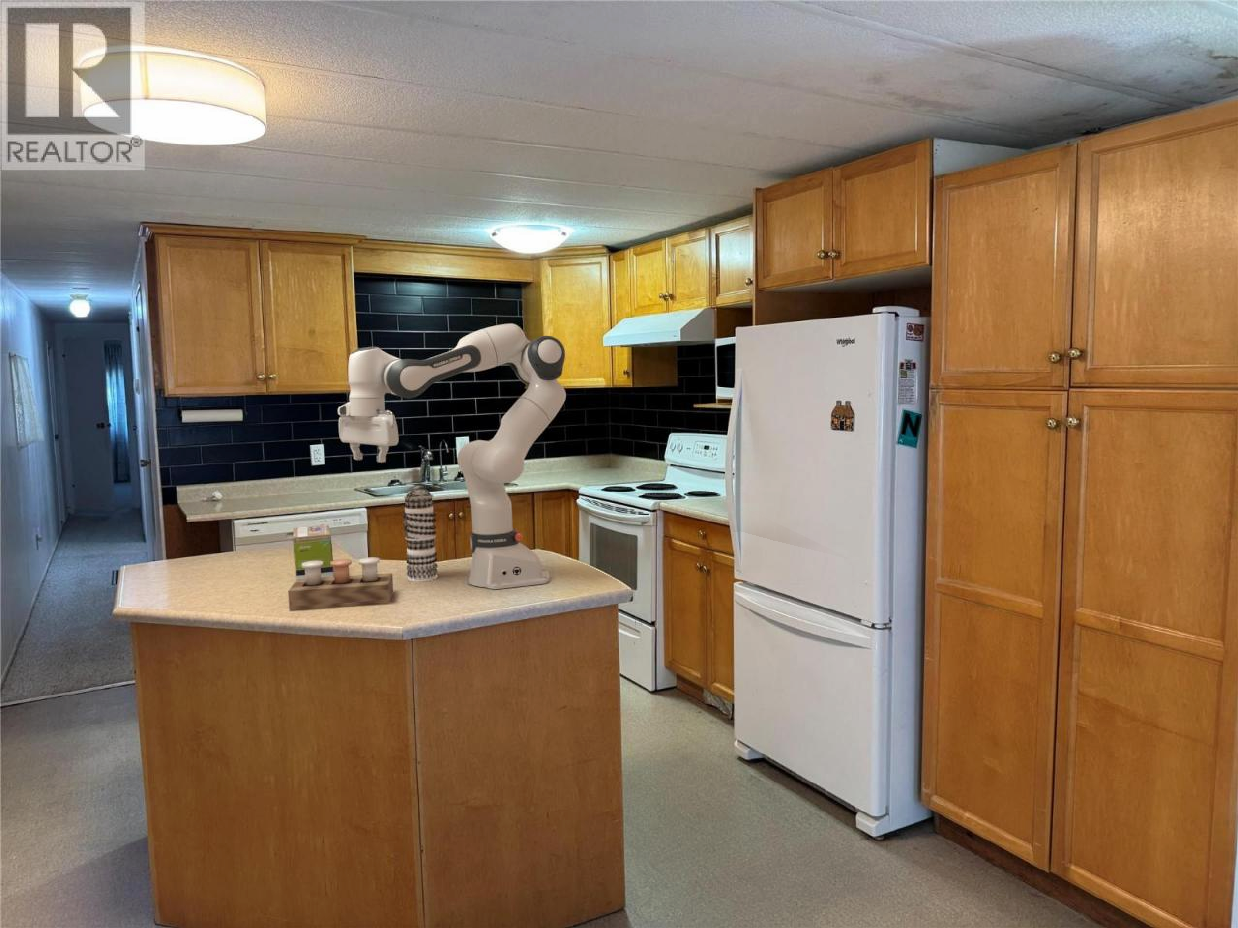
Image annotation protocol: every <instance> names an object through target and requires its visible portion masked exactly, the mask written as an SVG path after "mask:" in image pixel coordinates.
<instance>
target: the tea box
mask: <svg viewBox="0 0 1238 928" xmlns="http://www.w3.org/2000/svg"><path fill="white" fill-rule="evenodd" d="M292 542H293V543H292V544H293V555H294V556H293V557H294V566H295V567H294V568H295V578H296V581H297V580H298V579H305V568H302V563H304V562H307V561H323V566H321V578H323V577H334V568H333V566H330V562H331V561H333V560H334V559H333V558H334V557H333V546H332V536H331V531H330V525H329V524H322V525H321V524H320V525H308V526H301V527H293V535H292ZM296 581H295V582H296Z"/></svg>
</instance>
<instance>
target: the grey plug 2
mask: <svg viewBox="0 0 1238 928" xmlns="http://www.w3.org/2000/svg"><path fill="white" fill-rule="evenodd" d="M380 560H381V558H380V557H378V556H377V557H375V556H374V557H373V556H371V557H363V558H359V559H358V565H361V575H362V578H363V581H375V580H378V574H379V572H378V564H379V563H380Z"/></svg>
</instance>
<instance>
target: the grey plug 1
mask: <svg viewBox="0 0 1238 928" xmlns="http://www.w3.org/2000/svg"><path fill="white" fill-rule="evenodd" d="M321 566H323V561H307V562H304V563H302V568H305V580H306V585H317V584H320V583H322V582H321Z"/></svg>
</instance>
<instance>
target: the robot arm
mask: <svg viewBox="0 0 1238 928" xmlns="http://www.w3.org/2000/svg"><path fill="white" fill-rule="evenodd" d="M565 351H566V350H565V347H564V345H563V343H562V342H561V341H560V340H559V339H558V338H556V337H555V336H552V335H543V336H542V335H541V336H538V337H536V338H534V339H533V340H532V341H530V340H529V339H528V338H527V337H526V334H525V332H524V331H523V329H522V328H521V327H520V326H519V325H517V324H515V323H502V324H497V325H493V326H488V327H485V328H481V329H478V330H476V331H473V332H470V333H469V334H467V335H465V336H463V337H462V338H460V339H459V341H458V342H457V345H456V346H455V347H454V348H453V349H451V350H448V351H447V352H443V353H441V354H438V355H435V356H432V357H429V358H426V359H421V360H419V359H415V358H414V359H412V358H404V359H403V358H402V359H401V358H399V357H396V356H394V355H391V354H389V353H387V352H386V351H383V350H382V349H381V348H380V347H378V346H368V347H362V348H358V349H355V350H353V351H352V352H351V353H350V354H349V356H348V357H349V358H348V359H349V360H348V373H347V374H348V384H349V386H350V393H349V396H348V397H349V402H347V403H345V404H343V405H341V406H338V408H337V414H338V415H339V416H340V417H339V418H338V435H339V439H340V441H341V442H342V443H347V444H348V443H349V447H350V449H351V452H352V454H353V459H354V461H362V460H363V452H361V450H360V446H361V445H371V446H378V450H379V453H378V455H376V462H377V463H381V464H382V463H386V462H387V461H386V460H387V458H386V457H387V454H388V451H389V448H390V447H392V446H393V447H394V446H397V445H398V444H399V431H398V429H399V428H398V424H397V421H396V417H395V414H394V413H393V412H392V411H391V410H390V409H386V407H385V405H386V404H385V403H386V402H385V395H386V394H391V395H394V396H397V397H400V398H402V399H413V398H417V397H418V396H420V395H421V394H423V393H424V392H425V391H426V390H427V389H428V388H429V387H430V386H432V385H433V384H435V383H437V382H439V381H440V382H441V380H445V379H447V378H451V377H453V376H456V375H458V374H461V373H475V372H482V371H486V370H489V369H493V368H496V367H498V366H502V365H505V364H509V367H510V368H511V369H512V370H513V372H514V374H515V375H516V377H517V378H518V379H519V380H520V381H521V382H522V384H525V385H528V387H527V389H526V391H524V393H523V394H522V395H521V396H520V397H519V398H518V399H517V400H516V401H515V402H514V403H513V405H512V406H511V407H510V408H509V409H508V410H507V412H506V413H505V414H504V415H503V416H502V418H501V420H500V426H499V428H498V430H497V432H496V434H495V435H494V437H493V438H491V439H489V440H482V439H477V440H473V441H469V442H467V443H465V444H464V445H463V446H462V447H461V448H460V449H459V451H458V453H457V457H456V458H457V460H456V461H457V465H458V467H459V469H460V471H461V473H462V474H463V478H464V481H465V485H466V489H467V493H468V497H469V501H470V511H471V512H470V513H471V531H470V549H471V552H472V558H471V566H470V567H471V568H470V572H469V579H468V584H469V585H471V586H474V587H481V588H487V589H490V590H500V589H501V590H502V589H510V588H516V587H527V586H534V585H541V584H548V583H549V581H550V580H551V575H550V573H549V571H547V570H545V569H543V568H542V567H543V566H542V563H541V560H540V557H539V556H538V555H537V553H536V552H534V551H533V550H531V549H529V547H527V546H526V545H524V544H523V543H521V541H522V540H523V535H522V533H520V531H518V530H516V529H513V509H512V508H513V507H512V501H511V498H510V497H509V495H508V493H507V491H506V488H505V484H507V483H511V482H514V481H516V480H518V479H519V478H520V476H522V474H523V471H524V469H525V459H526V457H527V455H528V453H529V450H530V449H531V447H532V446H533V444H534V442H535V441H536V440H537V439H538V437H539V436H540V435H541V434H543V432H544V431H545V429H546V428H547V427H548V426H549V424H551V422H552V421H553V420H554V419H555V417H556V416H557V414H558V413H559V412H560V410H561V408H562V407H563V405H564V402H565V401H566V398H567V397H566V396H567V393H566V389H565V388H564V386H563V385H562V384H561V383H560V382H559V380H558V379H559V378H560V377H562V374H563V369H564V363H565V359H566V352H565Z"/></svg>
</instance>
